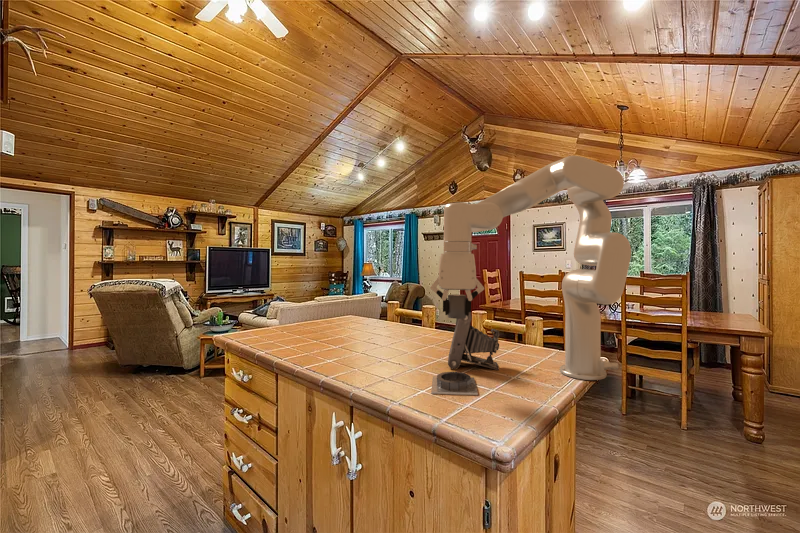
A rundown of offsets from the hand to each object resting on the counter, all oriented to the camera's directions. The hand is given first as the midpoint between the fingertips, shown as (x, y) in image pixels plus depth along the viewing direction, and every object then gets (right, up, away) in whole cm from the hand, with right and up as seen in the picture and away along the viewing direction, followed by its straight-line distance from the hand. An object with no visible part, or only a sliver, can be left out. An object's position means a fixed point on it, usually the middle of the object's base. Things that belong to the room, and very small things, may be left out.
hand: (456, 314), depth 98 cm
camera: (+9, -20, +20) cm, 29 cm away
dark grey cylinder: (0, -1, 0) cm, 1 cm away
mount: (-1, -20, +1) cm, 20 cm away
